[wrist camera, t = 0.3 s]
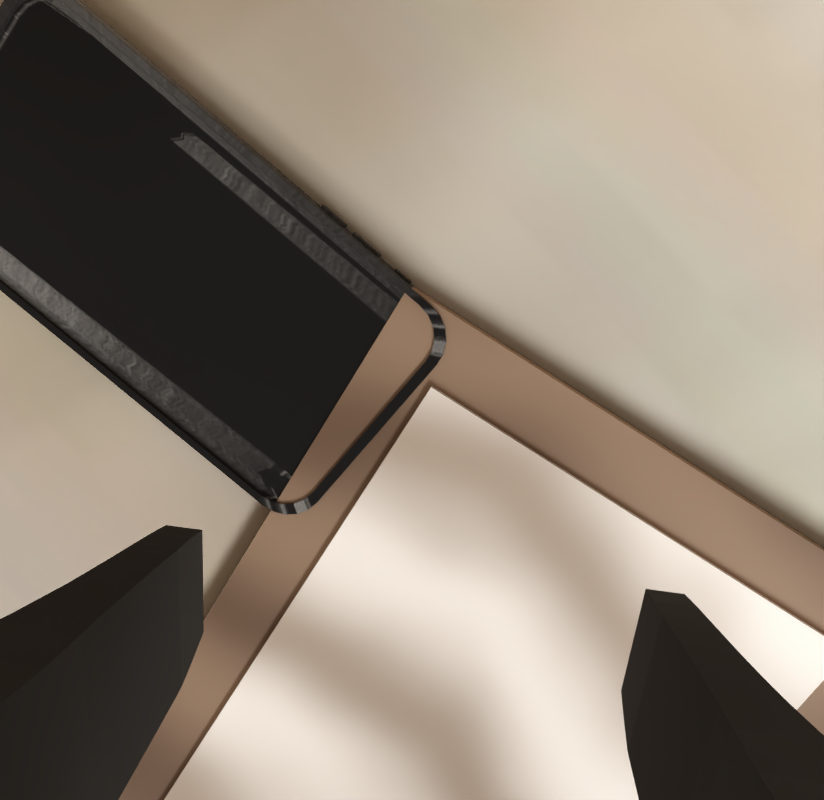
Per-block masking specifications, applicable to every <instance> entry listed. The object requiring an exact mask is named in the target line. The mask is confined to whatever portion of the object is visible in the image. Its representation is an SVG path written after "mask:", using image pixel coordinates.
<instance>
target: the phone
mask: <svg viewBox="0 0 824 800" xmlns="http://www.w3.org/2000/svg"><path fill="white" fill-rule="evenodd" d="M346 226H347V224H346V223H344V222H343V221H342V220H341V219H340V218H339V217H337V216H336V215H335V214H334V213H333V212H332V211H330V210H329V209H328V208H327V207H326V206H325V205H322V206H320V205H318V204H317V203H316V202H315V201H314V200H312V199H311V198H310V197H309V196H308V195H307V194H305V193H304V192H303V191H302V190H301V189H300V188H298V187H297V186H296V185H295V184H294V183H293V182H291V181H290V180H289V179H288V178H287V177H286V176H284V175H283V174H282V173H281V172H280V171H279V170H277V169H276V168H275V167H274V166H273V165H272V164H270V163H269V162H268V161H267V160H266V159H265V158H263V157H262V156H261V155H260V154H259V153H258V152H256V151H255V150H254V149H253V148H252V147H251V146H249V145H248V144H247V143H246V142H245V141H244V140H242V139H241V138H240V137H239V136H238V135H237V134H235V133H234V132H233V131H232V130H231V129H230V128H228V127H227V126H226V125H225V124H224V123H223V122H221V121H220V120H219V119H218V118H217V117H216V116H214V115H213V114H212V113H211V112H210V111H209V110H207V109H206V108H205V107H204V106H203V105H202V104H200V103H199V102H198V101H197V100H196V99H195V98H193V97H192V96H191V95H190V94H189V93H188V92H186V91H185V90H184V89H183V88H182V87H181V86H179V85H178V84H177V83H176V82H175V81H174V80H172V79H171V78H170V77H169V76H168V75H167V74H165V73H164V72H163V71H162V70H161V69H160V68H158V67H157V66H156V65H155V64H154V63H153V62H151V61H150V60H149V59H148V58H147V57H146V56H144V55H143V54H142V53H141V52H140V51H138V50H137V49H136V48H135V47H134V46H133V45H131V44H130V43H129V42H128V41H127V40H126V39H124V38H123V37H122V36H121V35H120V34H119V33H117V32H116V31H115V30H114V29H113V28H112V27H110V26H109V25H108V24H107V23H106V22H105V21H103V20H102V19H101V18H100V17H99V16H98V15H96V14H95V13H94V12H93V11H92V10H91V9H89V8H88V7H87V6H86V5H85V4H84V3H82V2H81V1H80V0H4V1H3V3H2V5H1V6H0V290H1V291H2V292H3V293H4V294H6V295H7V296H8V297H9V298H11V299H12V300H13V301H14V302H15V303H17V304H18V305H19V306H20V307H22V308H23V309H24V310H25V311H26V312H28V313H29V314H30V315H31V316H33V317H34V318H35V319H36V320H37V321H39V322H40V323H41V324H42V325H44V326H45V327H46V328H47V329H48V330H50V331H51V332H52V333H53V334H55V335H56V336H57V337H58V338H59V339H61V340H62V341H63V342H64V343H66V344H67V345H68V346H69V347H70V348H72V349H73V350H74V351H75V352H76V353H78V354H79V355H80V356H81V357H83V358H84V359H85V360H86V361H87V362H89V363H90V364H91V365H92V366H94V367H95V368H96V369H97V370H98V371H100V372H101V373H102V374H103V375H105V376H106V377H107V378H108V379H109V380H111V381H112V382H113V383H114V384H116V385H117V386H118V387H119V388H120V389H122V390H123V391H124V392H125V393H127V394H128V395H129V396H130V397H131V398H133V399H134V400H135V401H136V402H138V403H139V404H140V405H141V406H142V407H144V408H145V409H146V410H147V411H149V412H150V413H151V414H152V415H153V416H155V417H156V418H157V419H158V420H160V421H161V422H162V423H163V424H164V425H166V426H167V427H168V428H169V429H171V430H172V431H173V432H174V433H175V434H177V435H178V436H179V437H180V438H182V439H183V440H184V441H185V442H186V443H188V444H189V445H190V446H191V447H193V448H194V449H195V450H196V451H197V452H199V453H200V454H201V455H202V456H204V457H205V458H206V459H207V460H208V461H210V462H211V463H212V464H213V465H214V466H216V467H217V468H218V469H219V470H221V471H222V472H223V473H224V474H225V475H227V476H228V477H229V478H230V479H232V480H233V481H234V482H235V483H236V484H238V485H239V486H240V487H241V488H243V489H244V490H245V491H246V492H247V493H249V494H250V495H251V496H252V497H254V498H255V499H256V500H257V501H258V502H260V503H261V504H262V505H263V506H265V507H267V508H268V509H270V510H272V511H273V512H277V513H281V514H285V515H288V514H299V513H301V512H304V511H307V510H309V509H310V508H311V507H312V506H314V505H315V504H316V503H317V502H318V501H319V500H320V499H321V498H322V496H323V495H324V494H325V493H326V492H327V491H328V490H329V488H330V487H331V486H332V485H333V484H334V483H335V481H336V480H337V479H338V478H339V477H340V476H341V475H342V473H343V472H344V471H345V470H346V469H347V468H348V467H349V465H350V464H351V463H352V462H353V461H354V460H355V458H356V457H357V456H358V455H359V454H360V453H361V452H362V450H363V449H364V448H365V447H366V446H367V445H368V444H369V442H370V441H371V440H372V439H373V438H374V437H375V435H376V434H377V433H378V432H379V431H380V430H381V429H382V427H383V426H384V425H385V424H386V423H387V422H388V421H389V419H390V418H391V417H392V416H393V415H394V414H395V412H396V411H397V410H398V409H399V408H400V407H401V406H402V404H403V403H404V402H405V401H406V400H407V399H408V398H409V396H410V395H411V394H412V393H413V392H414V391H415V389H416V388H417V387H418V386H419V385H420V384H421V383H422V381H423V380H424V379H425V378H426V377H427V376H428V374H429V373H430V372H431V371H432V370H433V369H434V368H435V366H436V365H437V364H438V362H439V360H440V359H441V357H442V356H443V353H444V349H445V345H446V329H445V326H444V323H443V321H442V319H441V316H440V315H439V314H438V312H437V311H436V310H435V309H434V308H433V307H432V306H431V305H430V304H429V303H428V302H427V301H426V300H424V299H423V298H422V297H421V296H420V295H419V294H417V293H416V292H415V291H414V290H413V289H412V287H414V286H413V285H412V284H411V281H410V280H409V279H408V278H407V277H406V276H404V275H403V274H402V273H401V272H400V271H399V270H397V269H395V270H394V269H393V268H392V267H391V266H390V265H388V264H387V263H386V262H385V261H384V260H383V259H381V258H380V256H381V254H380V253H378V252H377V251H376V250H375V249H374V248H373V247H371V246H370V245H369V244H368V243H367V242H366V241H364V240H363V239H362V238H361V237H360V236H359V235H357V234H356V233H355V232H354V233H353V234H352V233H351V232H350V231H349V230H348V229H346V228H345V227H346ZM404 293H406V294H407V295H408V296H409V297H410V298H411V299H413V300H414V301H415V302H416V303H417V304H418V305H420V306H421V308H422V309H423V310H424V311H425V312H426V313H427V315H428V316H429V319H430V321H431V323H432V326H433V331H434V343H433V347H432V352H431V353H430V355H429V357H428V358H427V360H426V362H425V363H424V364H423V365H422V366H421V367H420V369H419V370H418V371H417V372H416V373H415V374H414V375H413V377H412V378H411V379H410V380H409V381H408V382H407V384H406V385H405V386H404V387H403V388H402V389H401V391H400V392H399V393H398V394H397V395H396V396H395V397H394V399H393V400H392V401H391V402H390V403H389V404H388V406H387V407H386V408H385V409H384V410H383V411H382V413H381V414H380V415H379V416H378V417H377V418H376V419H375V421H374V422H373V423H372V424H371V425H370V426H369V428H368V429H367V430H366V431H365V432H364V433H363V435H362V436H361V437H360V438H359V439H358V440H357V442H356V443H355V444H354V445H353V446H352V447H351V448H350V450H349V451H348V452H347V453H346V454H345V455H344V457H343V458H342V459H341V460H340V461H339V462H338V464H337V465H336V466H335V467H334V468H333V469H332V470H331V472H330V473H329V474H328V475H327V476H326V477H325V479H324V480H323V481H322V482H321V483H320V484H319V486H318V487H317V488H316V489H315V490H314V491H313V492H312V493H311V494H310V495H309V496H308V497H306V498H305V499H303V500H300V501H298V502H295V503H279V502H277V500H278V498H279V497H280V495H281V494H282V492H283V490H284V489H285V487H286V485H287V484H288V482H289V481H290V479H291V477H292V476H293V474H294V472H295V471H296V469H297V467H298V466H299V464H300V463H301V461H302V459H303V458H304V456H305V454H306V453H307V451H308V450H309V448H310V446H311V445H312V443H313V441H314V440H315V438H316V437H317V435H318V433H319V432H320V430H321V428H322V427H323V425H324V424H325V422H326V420H327V419H328V417H329V415H330V414H331V412H332V411H333V409H334V407H335V406H336V404H337V402H338V401H339V399H340V397H341V396H342V394H343V393H344V391H345V389H346V388H347V386H348V384H349V383H350V381H351V380H352V378H353V376H354V375H355V373H356V371H357V370H358V368H359V367H360V365H361V363H362V362H363V360H364V358H365V357H366V355H367V354H368V352H369V350H370V349H371V347H372V345H373V344H374V342H375V341H376V339H377V337H378V336H379V334H380V332H381V331H382V329H383V328H384V326H385V324H386V323H387V321H388V319H389V318H390V316H391V314H392V313H393V311H394V310H395V308H396V306H397V305H398V303H399V301H400V300H401V298H402V297H403V295H404Z"/></svg>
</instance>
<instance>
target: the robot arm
mask: <svg viewBox="0 0 824 800" xmlns="http://www.w3.org/2000/svg"><path fill="white" fill-rule="evenodd" d="M203 632H204V627H203V555H202V530H198V529H190V528H183V527H175V526H167V525H166V526H164V527H162V528H160V529H158V530H156V531H155V532H153V533H151V534H149V535H148V536H146V537H144V538H143V539H141V540H139V541H138V542H136V543H134V544H133V545H131V546H130V547H128V548H126V549H125V550H123V551H121V552H120V553H118V554H116V555H115V556H113V557H111V558H110V559H108V560H106V561H105V562H103V563H101V564H100V565H98V566H96V567H95V568H93V569H91V570H90V571H88V572H86V573H85V574H83V575H81V576H80V577H78V578H76V579H74V580H73V581H71V582H69V583H68V584H66V585H64V586H62V587H60V588H58V589H56V590H55V591H53V592H51V593H49V594H47V595H45V596H43V597H42V598H40V599H38V600H36V601H34V602H32V603H30V604H29V605H27V606H25V607H23V608H21V609H19V610H17V611H15V612H14V613H12V614H10V615H8V616H6V617H4V618H2V619H0V800H119V798H120V796H121V794H122V792H123V791H124V789H125V787H126V785H127V784H128V782H129V780H130V778H131V777H132V775H133V773H134V771H135V769H136V768H137V766H138V764H139V762H140V761H141V759H142V757H143V755H144V754H145V752H146V750H147V748H148V747H149V745H150V743H151V741H152V739H153V738H154V736H155V734H156V732H157V731H158V729H159V727H160V725H161V723H162V722H163V720H164V718H165V716H166V714H167V713H168V711H169V709H170V707H171V705H172V704H173V702H174V700H175V698H176V696H177V694H178V693H179V691H180V689H181V687H182V685H183V682H184V680H185V678H186V675H187V673H188V670H189V668H190V666H191V663H192V661H193V658H194V656H195V653H196V650H197V648H198V645H199V643H200V640H201V637H202V635H203ZM621 696H622V706H623V716H624V726H625V734H626V743H627V751H628V756H629V760H630V764H631V769H632V773H633V777H634V782H635V786H636V790H637V794H638V799H639V800H824V735H823V734H822V733H821V732H819V731H818V730H817V729H816V728H815V727H814V726H813V725H812V724H811V723H810V722H809V721H808V720H807V719H805V718H804V717H803V716H802V715H801V714H800V713H799V712H798V711H797V710H796V709H795V708H794V707H793V706H792V705H790V704H789V703H788V702H787V701H786V700H785V699H784V698H783V697H782V696H781V695H780V694H779V693H778V692H777V691H776V690H775V689H774V688H773V687H772V686H771V685H770V684H769V683H768V682H767V681H766V680H765V679H764V678H763V677H762V676H761V675H760V674H759V673H758V672H757V670H756V669H755V668H754V667H753V666H752V665H751V664H750V663H749V662H748V661H747V660H746V659H745V658H744V657H743V656H742V655H741V654H740V653H739V652H738V650H737V649H736V648H735V647H734V646H733V645H732V644H731V643H730V642H729V641H728V640H727V639H726V637H725V636H724V635H723V634H722V633H721V632H720V631H719V630H718V629H717V628H716V627H715V626H714V624H713V623H712V622H711V621H710V620H709V619H708V618H707V617H706V616H705V615H704V614H703V612H702V611H701V610H700V609H699V608H698V607H697V606H696V605H695V604H694V603H693V602H692V601H691V600H690V599H689V598H688V597H687V596H686V595H685V594H681V593H673V592H666V591H658V590H651V589H645V594H644V598H643V602H642V606H641V610H640V614H639V618H638V622H637V627H636V631H635V635H634V639H633V643H632V647H631V651H630V656H629V660H628V664H627V668H626V672H625V676H624V680H623V684H622V689H621Z"/></svg>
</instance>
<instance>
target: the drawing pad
mask: <svg viewBox="0 0 824 800" xmlns="http://www.w3.org/2000/svg"><path fill="white" fill-rule="evenodd" d="M412 289H413V290H414V291H415V292H416V293H417V294H419V295H420V296H421V297H422V298H423V299H424V300H426V301H427V302H428V303H429V304H430V305H431V306H432V307H433V308H434V309H435V310H436V311H437V312H438V314H439V315H440V316H441V319H442V321H443V323H444V326H445V329H446V345H445V349H444V353H443V356H442V357H441V359H440V360H439V362H438V364H437V365H436V366H435V368H434V369H433V370H432V371H431V372H430V373H429V374H428V376H427V377H426V378H425V379H424V380H423V381H422V383H421V384H420V385H419V386H418V387H417V388H416V389H415V391H414V392H413V393H412V394H411V395H410V396H409V398H408V399H407V400H406V401H405V402H404V403H403V404H402V406H401V407H400V408H399V409H398V410H397V411H396V412H395V414H394V415H393V416H392V417H391V418H390V419H389V421H388V422H387V423H386V424H385V425H384V426H383V427H382V429H381V430H380V431H379V432H378V433H377V434H376V435H375V437H374V438H373V439H372V440H371V441H370V442H369V444H368V445H367V446H366V447H365V448H364V449H363V450H362V452H361V453H360V454H359V455H358V456H357V457H356V458H355V460H354V461H353V462H352V463H351V464H350V465H349V467H348V468H347V469H346V470H345V471H344V472H343V473H342V475H341V476H340V477H339V478H338V479H337V480H336V481H335V483H334V484H333V485H332V486H331V487H330V488H329V490H328V491H327V492H326V493H325V494H324V495H323V496H322V498H321V499H320V500H319V501H318V502H317V503H316V504H315V505H314V506H312V507H311V508H310V509H309V510H307V511H304V512H301V513H299V514H288V515H285V514H281V513H277V512H273V511H272V510H271V511H270V513H269V515H268V516H267V518H266V520H265V521H264V523H263V524H262V526H261V528H260V529H259V531H258V533H257V534H256V536H255V537H254V539H253V541H252V542H251V544H250V546H249V547H248V549H247V551H246V552H245V554H244V555H243V557H242V559H241V560H240V562H239V564H238V565H237V567H236V568H235V570H234V572H233V573H232V575H231V577H230V578H229V580H228V581H227V583H226V585H225V586H224V588H223V590H222V591H221V593H220V594H219V596H218V598H217V599H216V601H215V603H214V604H213V606H212V607H211V609H210V611H209V612H208V614H207V616H206V617H205V619H204V621H203V627H204V632H203V635H202V637H201V640H200V643H199V645H198V648H197V650H196V653H195V656H194V658H193V661H192V663H191V666H190V668H189V670H188V673H187V675H186V678H185V680H184V682H183V685H182V687H181V689H180V691H179V693H178V694H177V696H176V698H175V700H174V702H173V704H172V705H171V707H170V709H169V711H168V713H167V714H166V716H165V718H164V720H163V722H162V723H161V725H160V727H159V729H158V731H157V732H156V734H155V736H154V738H153V739H152V741H151V743H150V745H149V747H148V748H147V750H146V752H145V754H144V755H143V757H142V759H141V761H140V762H139V764H138V766H137V768H136V769H135V771H134V773H133V775H132V777H131V778H130V780H129V782H128V784H127V785H126V787H125V789H124V791H123V792H122V794H121V796H120V798H119V800H639V799H638V794H637V790H636V786H635V782H634V777H633V773H632V769H631V764H630V760H629V756H628V751H627V743H626V734H625V726H624V716H623V706H622V696H621V689H622V684H623V680H624V676H625V672H626V668H627V664H628V660H629V656H630V651H631V647H632V643H633V639H634V635H635V631H636V627H637V622H638V618H639V614H640V610H641V606H642V602H643V598H644V594H645V589H651V590H658V591H666V592H673V593H681V594H685V595H686V596H687V597H688V598H689V599H690V600H691V601H692V602H693V603H694V604H695V605H696V606H697V607H698V608H699V609H700V610H701V611H702V612H703V614H704V615H705V616H706V617H707V618H708V619H709V620H710V621H711V622H712V623H713V624H714V626H715V627H716V628H717V629H718V630H719V631H720V632H721V633H722V634H723V635H724V636H725V637H726V639H727V640H728V641H729V642H730V643H731V644H732V645H733V646H734V647H735V648H736V649H737V650H738V652H739V653H740V654H741V655H742V656H743V657H744V658H745V659H746V660H747V661H748V662H749V663H750V664H751V665H752V666H753V667H754V668H755V669H756V670H757V672H758V673H759V674H760V675H761V676H762V677H763V678H764V679H765V680H766V681H767V682H768V683H769V684H770V685H771V686H772V687H773V688H774V689H775V690H776V691H777V692H778V693H779V694H780V695H781V696H782V697H783V698H784V699H785V700H786V701H787V702H788V703H789V704H790V705H792V706H793V707H794V708H795V709H796V710H797V711H798V712H799V713H800V714H801V715H802V716H803V717H804V718H805V719H807V720H808V721H809V722H810V723H811V724H812V725H813V726H814V727H815V728H816V729H817V730H818V731H819V732H821V733H822V734H823V735H824V548H823V547H822V546H820V545H818V544H817V543H815V542H814V541H812V540H811V539H809V538H807V537H806V536H804V535H803V534H801V533H800V532H798V531H796V530H795V529H793V528H792V527H790V526H789V525H787V524H785V523H784V522H782V521H781V520H779V519H778V518H776V517H774V516H773V515H771V514H770V513H768V512H767V511H765V510H763V509H762V508H760V507H759V506H757V505H756V504H754V503H752V502H751V501H749V500H748V499H746V498H745V497H743V496H742V495H740V494H738V493H737V492H735V491H734V490H732V489H731V488H729V487H727V486H726V485H724V484H723V483H721V482H720V481H718V480H716V479H715V478H713V477H712V476H710V475H709V474H707V473H705V472H704V471H702V470H701V469H699V468H698V467H696V466H694V465H693V464H691V463H690V462H688V461H687V460H685V459H683V458H682V457H680V456H679V455H677V454H676V453H674V452H673V451H671V450H669V449H668V448H666V447H665V446H663V445H662V444H660V443H658V442H657V441H655V440H654V439H652V438H651V437H649V436H647V435H646V434H644V433H643V432H641V431H640V430H638V429H636V428H635V427H633V426H632V425H630V424H629V423H627V422H625V421H624V420H622V419H621V418H619V417H618V416H616V415H614V414H613V413H611V412H610V411H608V410H607V409H605V408H604V407H602V406H600V405H599V404H597V403H596V402H594V401H593V400H591V399H589V398H588V397H586V396H585V395H583V394H582V393H580V392H578V391H577V390H575V389H574V388H572V387H571V386H569V385H567V384H566V383H564V382H563V381H561V380H560V379H558V378H556V377H555V376H553V375H552V374H550V373H549V372H547V371H545V370H544V369H542V368H541V367H539V366H538V365H536V364H535V363H533V362H531V361H530V360H528V359H527V358H525V357H524V356H522V355H520V354H519V353H517V352H516V351H514V350H513V349H511V348H509V347H508V346H506V345H505V344H503V343H502V342H500V341H498V340H497V339H495V338H494V337H492V336H491V335H489V334H487V333H486V332H484V331H483V330H481V329H480V328H478V327H476V326H475V325H473V324H472V323H470V322H469V321H467V320H465V319H464V318H462V317H461V316H459V315H458V314H456V313H455V312H453V311H451V310H450V309H448V308H447V307H445V306H444V305H442V304H440V303H439V302H437V301H436V300H434V299H433V298H431V297H429V296H428V295H426V294H425V293H423V292H422V291H420V290H418V289H417V288H415V287H412ZM433 343H434V331H433V326H432V323H431V321H430V319H429V316H428V315H427V313H426V312H425V311H424V310H423V309H422V308H421V306H420V305H418V304H417V303H416V302H415V301H414V300H413V299H411V298H410V297H409V296H408V295H407V294H406V293H404V295H403V297H402V298H401V300H400V301H399V303H398V305H397V306H396V308H395V310H394V311H393V313H392V314H391V316H390V318H389V319H388V321H387V323H386V324H385V326H384V328H383V329H382V331H381V332H380V334H379V336H378V337H377V339H376V341H375V342H374V344H373V345H372V347H371V349H370V350H369V352H368V354H367V355H366V357H365V358H364V360H363V362H362V363H361V365H360V367H359V368H358V370H357V371H356V373H355V375H354V376H353V378H352V380H351V381H350V383H349V384H348V386H347V388H346V389H345V391H344V393H343V394H342V396H341V397H340V399H339V401H338V402H337V404H336V406H335V407H334V409H333V411H332V412H331V414H330V415H329V417H328V419H327V420H326V422H325V424H324V425H323V427H322V428H321V430H320V432H319V433H318V435H317V437H316V438H315V440H314V441H313V443H312V445H311V446H310V448H309V450H308V451H307V453H306V454H305V456H304V458H303V459H302V461H301V463H300V464H299V466H298V467H297V469H296V471H295V472H294V474H293V476H292V477H291V479H290V481H289V482H288V484H287V485H286V487H285V489H284V490H283V492H282V494H281V495H280V497H279V498H278V500H277V502H279V503H295V502H298V501H300V500H303V499H305V498H306V497H308V496H309V495H310V494H311V493H312V492H313V491H314V490H315V489H316V488H317V487H318V486H319V484H320V483H321V482H322V481H323V480H324V479H325V477H326V476H327V475H328V474H329V473H330V472H331V470H332V469H333V468H334V467H335V466H336V465H337V464H338V462H339V461H340V460H341V459H342V458H343V457H344V455H345V454H346V453H347V452H348V451H349V450H350V448H351V447H352V446H353V445H354V444H355V443H356V442H357V440H358V439H359V438H360V437H361V436H362V435H363V433H364V432H365V431H366V430H367V429H368V428H369V426H370V425H371V424H372V423H373V422H374V421H375V419H376V418H377V417H378V416H379V415H380V414H381V413H382V411H383V410H384V409H385V408H386V407H387V406H388V404H389V403H390V402H391V401H392V400H393V399H394V397H395V396H396V395H397V394H398V393H399V392H400V391H401V389H402V388H403V387H404V386H405V385H406V384H407V382H408V381H409V380H410V379H411V378H412V377H413V375H414V374H415V373H416V372H417V371H418V370H419V369H420V367H421V366H422V365H423V364H424V363H425V362H426V360H427V358H428V357H429V355H430V353H431V352H432V347H433Z"/></svg>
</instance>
